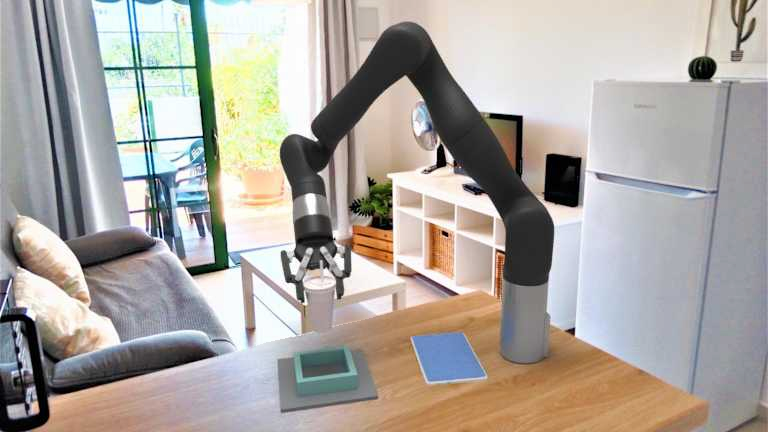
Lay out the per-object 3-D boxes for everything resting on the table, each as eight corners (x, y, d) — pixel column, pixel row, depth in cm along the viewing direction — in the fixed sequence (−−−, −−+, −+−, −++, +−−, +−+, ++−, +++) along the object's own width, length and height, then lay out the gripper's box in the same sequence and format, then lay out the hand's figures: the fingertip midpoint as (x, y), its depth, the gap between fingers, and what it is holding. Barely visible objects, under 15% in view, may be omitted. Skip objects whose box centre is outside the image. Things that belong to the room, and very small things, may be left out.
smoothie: (333, 337, 108) (329, 268, 104) (300, 334, 109) (296, 266, 105) (342, 321, 114) (339, 255, 110) (311, 319, 115) (307, 253, 111)
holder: (361, 351, 124) (361, 336, 123) (378, 398, 108) (378, 381, 107) (277, 361, 121) (276, 346, 120) (281, 412, 104) (279, 395, 103)
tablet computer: (489, 382, 113) (489, 376, 112) (426, 388, 111) (426, 382, 111) (463, 336, 131) (463, 330, 131) (409, 340, 130) (409, 335, 129)
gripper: (275, 215, 111) (282, 296, 103) (349, 209, 114) (361, 288, 106) (276, 233, 117) (282, 310, 110) (346, 227, 120) (357, 302, 112)
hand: (321, 299), depth 108 cm, fingers closed on smoothie, 6 cm apart
